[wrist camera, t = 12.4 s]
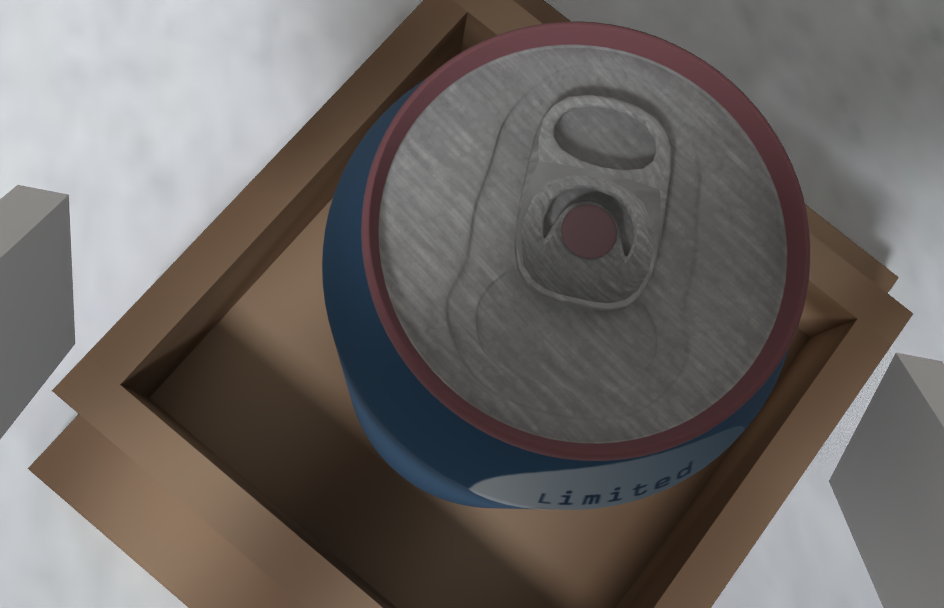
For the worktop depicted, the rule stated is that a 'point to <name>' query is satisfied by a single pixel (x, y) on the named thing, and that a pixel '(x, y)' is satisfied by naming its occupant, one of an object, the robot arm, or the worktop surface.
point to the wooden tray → (345, 443)
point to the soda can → (564, 270)
